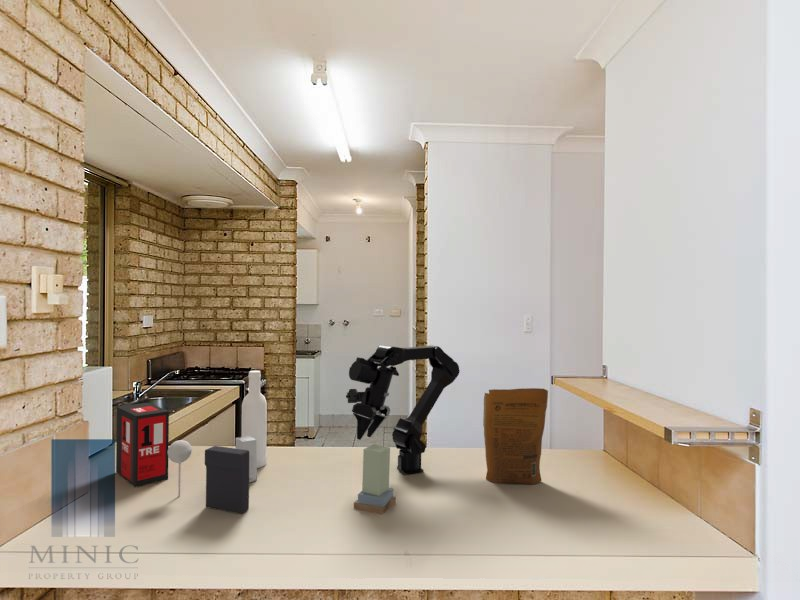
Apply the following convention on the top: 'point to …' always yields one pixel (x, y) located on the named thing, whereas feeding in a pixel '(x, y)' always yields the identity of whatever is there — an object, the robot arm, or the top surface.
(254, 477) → the skincare box
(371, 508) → the walnut base block
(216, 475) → the calculator
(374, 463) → the sage block
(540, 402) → the pancake mix bag
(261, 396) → the bottle
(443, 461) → the top surface
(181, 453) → the lollipop
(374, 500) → the slate top block
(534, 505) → the top surface
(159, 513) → the top surface
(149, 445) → the cleaning product box
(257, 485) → the top surface
